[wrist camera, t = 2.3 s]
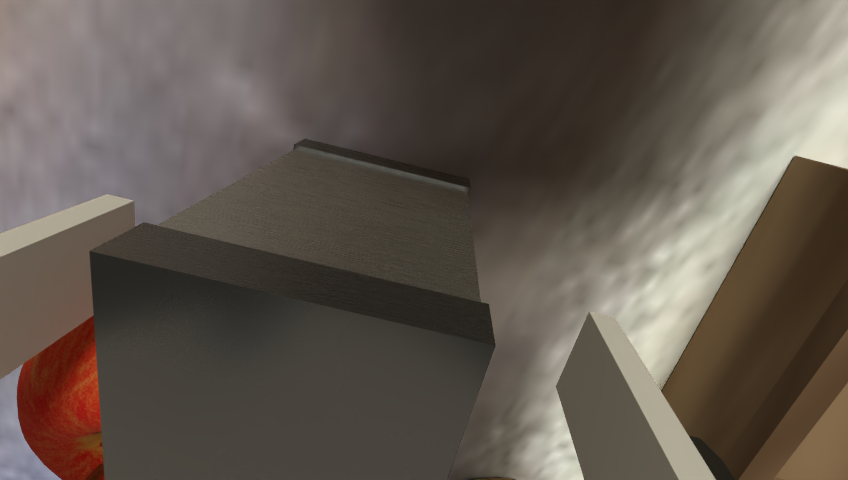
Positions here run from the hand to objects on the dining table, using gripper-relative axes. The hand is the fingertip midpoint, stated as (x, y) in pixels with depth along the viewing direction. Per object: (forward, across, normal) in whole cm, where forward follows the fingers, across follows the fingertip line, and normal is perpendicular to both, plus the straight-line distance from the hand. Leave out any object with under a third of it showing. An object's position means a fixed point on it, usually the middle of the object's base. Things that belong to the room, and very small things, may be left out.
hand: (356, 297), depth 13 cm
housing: (+4, 0, 0) cm, 5 cm away
